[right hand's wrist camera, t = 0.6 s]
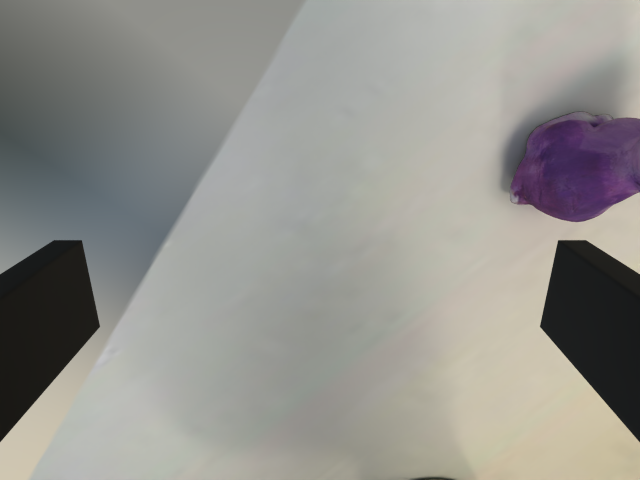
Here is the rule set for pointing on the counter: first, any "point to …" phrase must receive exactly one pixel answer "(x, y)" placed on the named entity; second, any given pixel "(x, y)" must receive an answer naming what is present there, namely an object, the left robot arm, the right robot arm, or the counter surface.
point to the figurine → (579, 166)
